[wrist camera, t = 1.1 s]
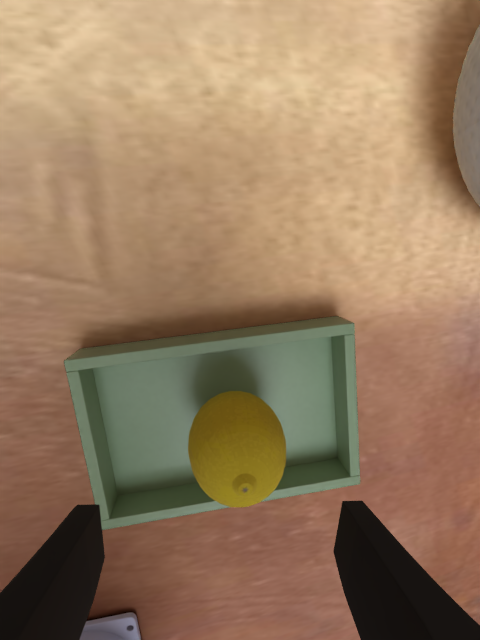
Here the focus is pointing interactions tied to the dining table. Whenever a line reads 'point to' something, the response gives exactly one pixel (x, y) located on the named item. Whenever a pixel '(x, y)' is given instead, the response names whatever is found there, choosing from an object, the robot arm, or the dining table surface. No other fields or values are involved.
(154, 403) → the tray
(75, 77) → the dining table surface
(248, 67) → the dining table surface
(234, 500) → the lemon
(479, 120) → the cereal bowl
